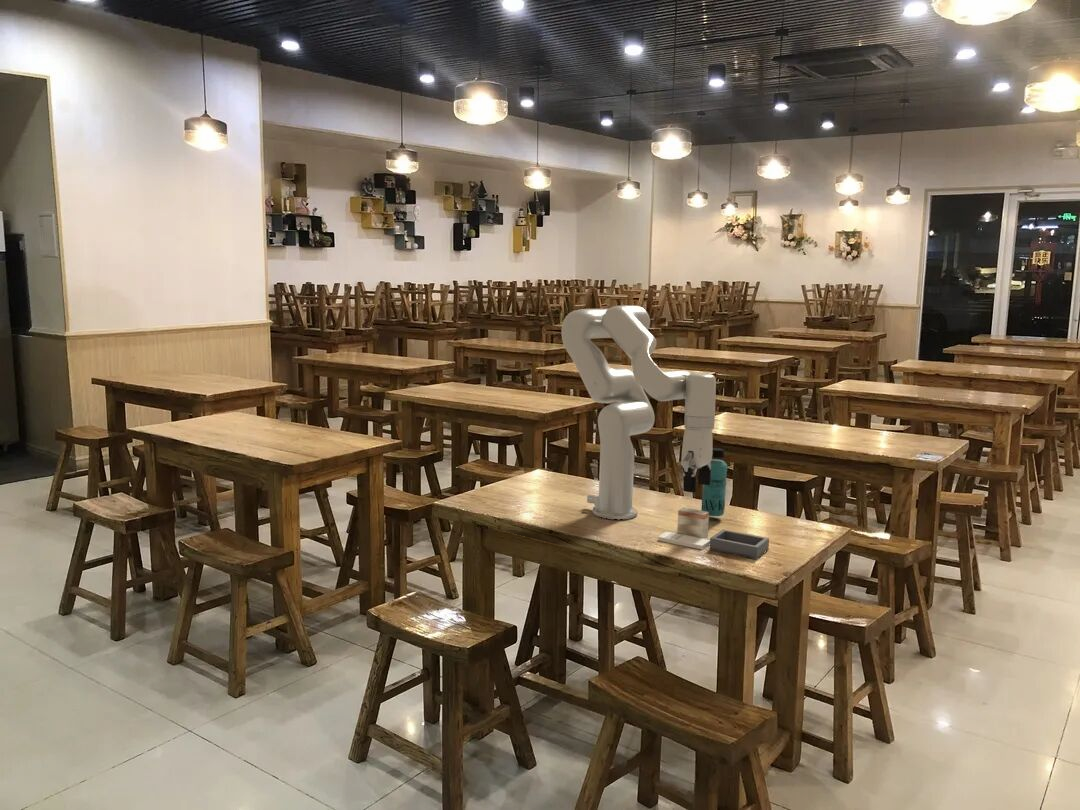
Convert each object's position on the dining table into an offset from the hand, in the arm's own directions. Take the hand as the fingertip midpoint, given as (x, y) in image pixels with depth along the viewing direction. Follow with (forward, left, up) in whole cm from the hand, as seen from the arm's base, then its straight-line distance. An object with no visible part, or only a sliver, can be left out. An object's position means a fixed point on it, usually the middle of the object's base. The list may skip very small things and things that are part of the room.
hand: (696, 488), depth 219 cm
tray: (+13, -2, -13) cm, 19 cm away
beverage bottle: (-3, +20, -13) cm, 24 cm away
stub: (-1, 0, -13) cm, 13 cm away
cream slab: (-1, -5, -13) cm, 14 cm away
